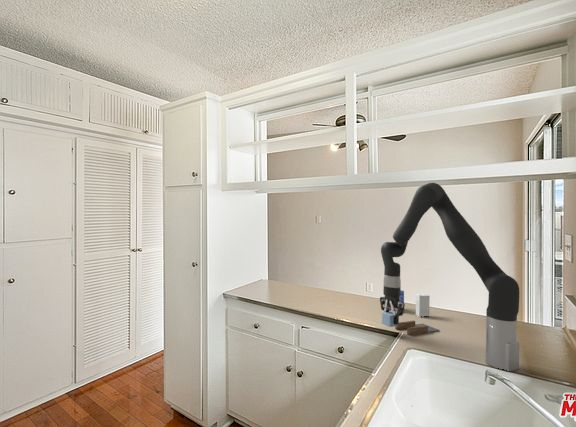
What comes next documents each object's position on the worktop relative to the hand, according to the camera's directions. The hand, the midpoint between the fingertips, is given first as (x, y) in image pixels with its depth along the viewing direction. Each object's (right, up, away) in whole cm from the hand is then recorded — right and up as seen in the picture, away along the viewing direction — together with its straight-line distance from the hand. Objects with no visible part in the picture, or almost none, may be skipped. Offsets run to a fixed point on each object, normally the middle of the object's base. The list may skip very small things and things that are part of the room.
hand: (391, 322), depth 142 cm
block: (-1, -1, 0) cm, 1 cm away
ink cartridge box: (+16, -7, +41) cm, 45 cm away
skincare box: (+27, -7, +30) cm, 41 cm away
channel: (+11, -6, +5) cm, 14 cm away
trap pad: (+20, -6, +9) cm, 23 cm away
